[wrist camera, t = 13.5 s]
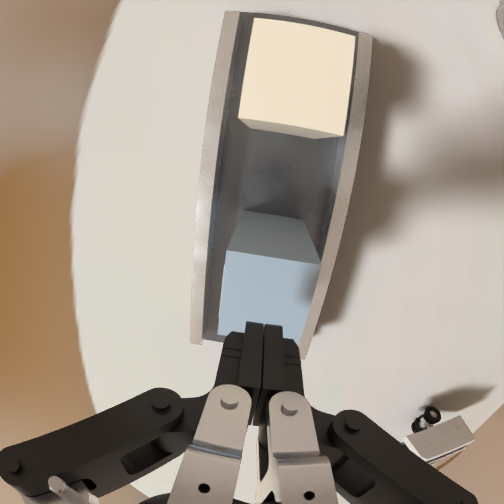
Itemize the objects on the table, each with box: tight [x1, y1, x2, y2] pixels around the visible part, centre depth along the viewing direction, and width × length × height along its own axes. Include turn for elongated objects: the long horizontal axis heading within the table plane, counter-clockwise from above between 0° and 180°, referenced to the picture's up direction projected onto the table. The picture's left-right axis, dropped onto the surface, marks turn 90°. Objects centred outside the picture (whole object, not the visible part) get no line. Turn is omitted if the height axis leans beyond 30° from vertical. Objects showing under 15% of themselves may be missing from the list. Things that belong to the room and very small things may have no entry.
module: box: [218, 210, 322, 345], centre depth 18 cm, size 5×5×8 cm
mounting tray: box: [190, 11, 373, 359], centre depth 20 cm, size 28×10×4 cm, turn 172°
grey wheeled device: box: [401, 407, 475, 464], centre depth 28 cm, size 4×10×15 cm
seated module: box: [238, 18, 355, 139], centre depth 13 cm, size 5×5×8 cm
